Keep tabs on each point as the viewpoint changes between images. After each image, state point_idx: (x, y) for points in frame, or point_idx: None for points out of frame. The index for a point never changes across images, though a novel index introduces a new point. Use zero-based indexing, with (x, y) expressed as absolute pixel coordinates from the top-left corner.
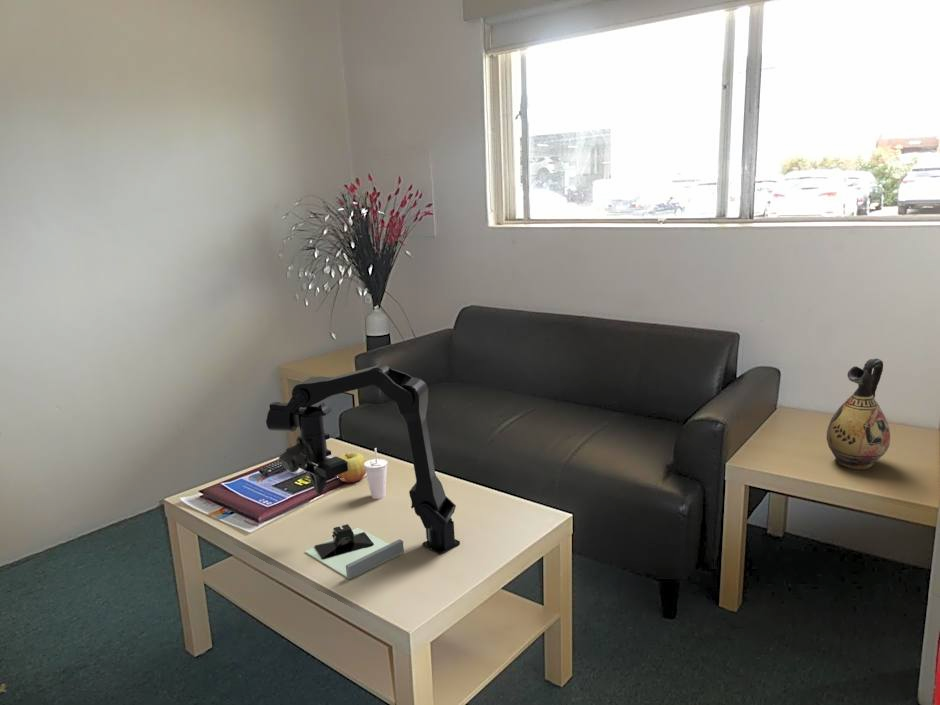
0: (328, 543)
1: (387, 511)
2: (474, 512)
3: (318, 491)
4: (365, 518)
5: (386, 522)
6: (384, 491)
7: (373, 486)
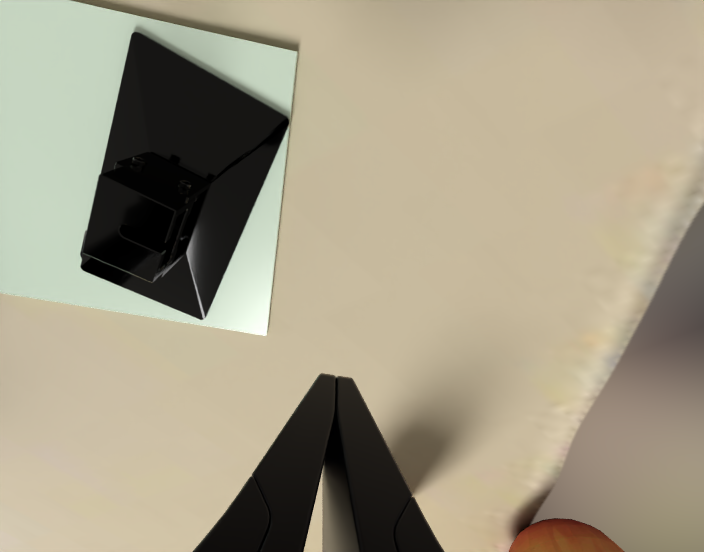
0: (229, 164)
1: None
2: (61, 525)
3: (310, 390)
4: None
5: (217, 403)
6: None
7: None
